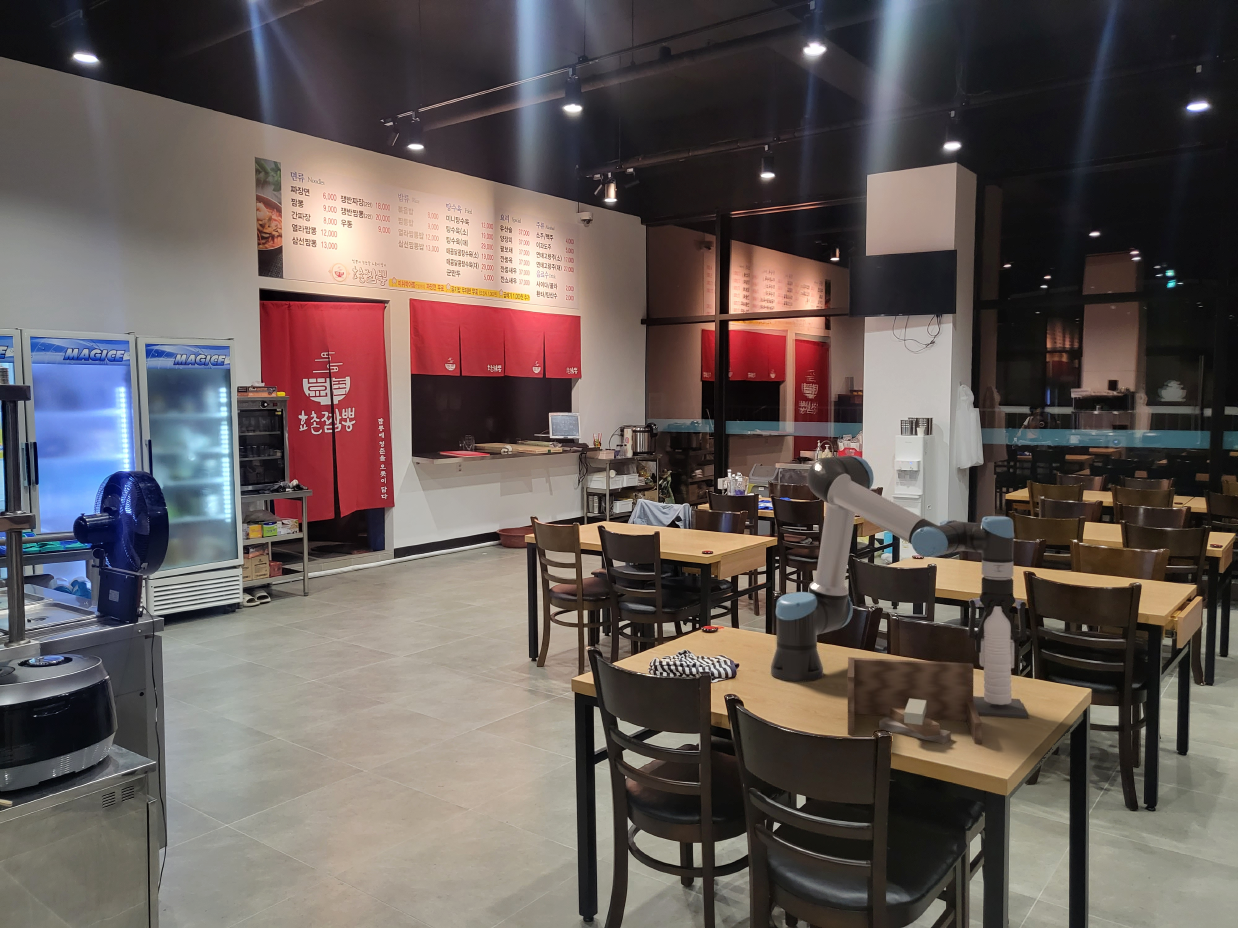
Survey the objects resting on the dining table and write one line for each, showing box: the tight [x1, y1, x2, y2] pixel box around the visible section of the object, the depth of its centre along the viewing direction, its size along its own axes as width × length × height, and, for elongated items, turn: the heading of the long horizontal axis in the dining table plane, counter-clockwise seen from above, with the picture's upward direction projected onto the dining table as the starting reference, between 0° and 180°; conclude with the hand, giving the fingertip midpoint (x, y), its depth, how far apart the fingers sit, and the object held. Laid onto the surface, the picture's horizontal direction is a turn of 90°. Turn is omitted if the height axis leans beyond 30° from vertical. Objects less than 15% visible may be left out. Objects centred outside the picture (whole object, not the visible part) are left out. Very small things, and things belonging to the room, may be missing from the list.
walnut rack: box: [847, 656, 983, 745], centre depth 219 cm, size 30×18×14 cm, turn 75°
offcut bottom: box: [878, 716, 952, 745], centre depth 215 cm, size 16×4×2 cm, turn 48°
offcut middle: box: [889, 706, 941, 737], centre depth 215 cm, size 14×4×2 cm, turn 17°
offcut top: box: [904, 699, 926, 725], centre depth 214 cm, size 11×4×2 cm, turn 156°
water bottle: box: [978, 602, 1012, 705], centre depth 231 cm, size 9×6×25 cm
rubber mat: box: [973, 695, 1030, 719], centre depth 231 cm, size 13×13×1 cm
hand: (996, 665), depth 231 cm, fingers closed on water bottle, 6 cm apart
